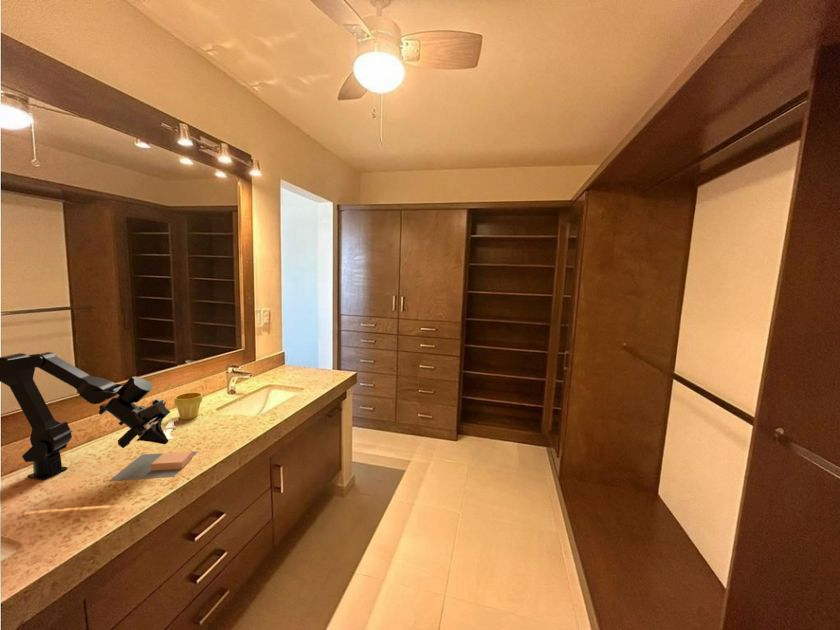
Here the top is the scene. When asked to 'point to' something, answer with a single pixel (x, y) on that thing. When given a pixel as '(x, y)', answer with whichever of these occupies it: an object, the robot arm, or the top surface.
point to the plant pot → (188, 404)
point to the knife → (170, 427)
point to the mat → (144, 469)
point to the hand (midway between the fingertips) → (167, 442)
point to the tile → (172, 460)
